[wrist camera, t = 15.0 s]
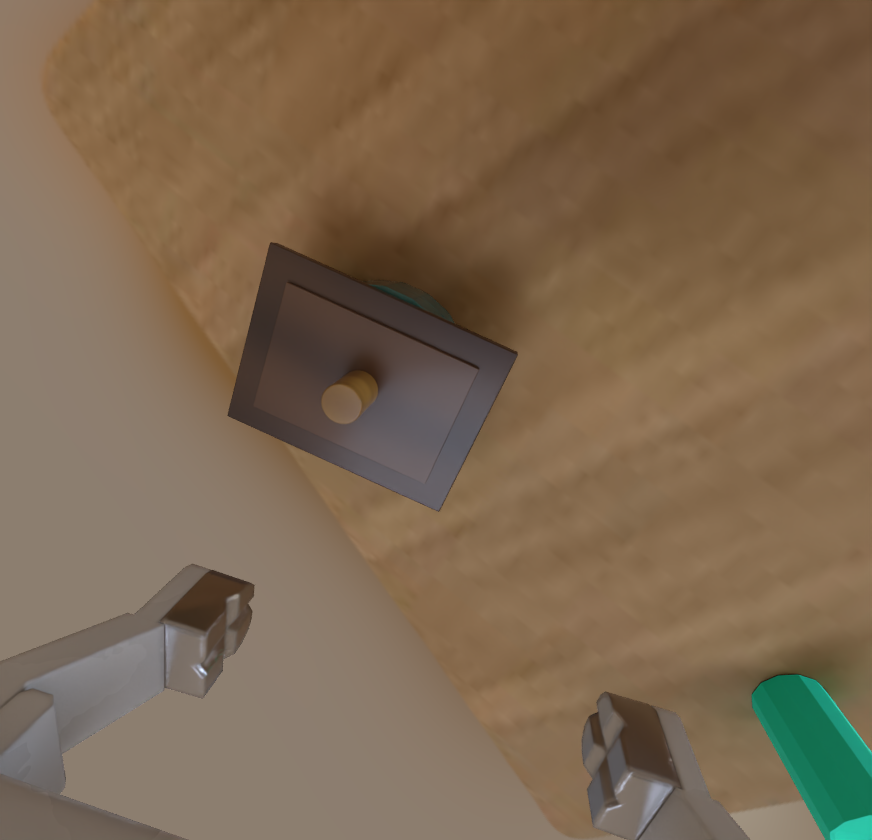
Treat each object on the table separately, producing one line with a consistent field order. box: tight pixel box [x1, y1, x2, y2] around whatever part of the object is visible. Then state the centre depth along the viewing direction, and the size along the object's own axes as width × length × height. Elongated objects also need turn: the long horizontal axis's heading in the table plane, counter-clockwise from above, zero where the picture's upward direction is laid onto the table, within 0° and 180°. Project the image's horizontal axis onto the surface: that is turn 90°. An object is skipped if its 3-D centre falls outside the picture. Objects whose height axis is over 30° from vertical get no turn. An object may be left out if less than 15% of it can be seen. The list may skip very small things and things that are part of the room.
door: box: [228, 242, 518, 512], centre depth 27 cm, size 12×16×4 cm
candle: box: [752, 674, 872, 840], centre depth 33 cm, size 6×6×12 cm
